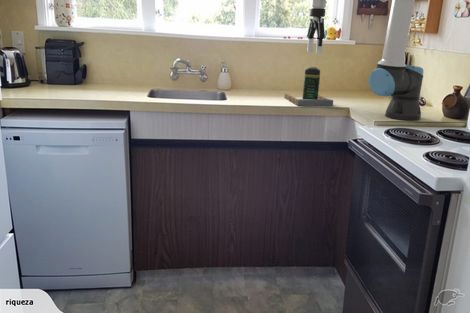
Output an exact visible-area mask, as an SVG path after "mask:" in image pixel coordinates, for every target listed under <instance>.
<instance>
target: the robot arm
mask: <svg viewBox="0 0 470 313" xmlns="http://www.w3.org/2000/svg"><path fill="white" fill-rule="evenodd" d="M309 2H310V3H309V4H310V5H309V6H310V7H309V8H310V9H309V17H310V19H309V20H310V21H309V24H308V25H309V26H308V30H307V35H306V37H307V50H306V52H307V53H308V52H309V53H310V52H311V53H313V51H314V40H315V37H314V36H315V33H316V36H317V37H316V45H315V48H316V49H315V54H322V52H323V40H324V39H325V38H326V33H325V18H324V17H325V16H326V9H325V8H326V6H327V3H328V1H327V0H310V1H309ZM415 2H416V0H391V5H390V9H389V10H390V11H389V17H388V22H387V27H386V33H385V34H386V35H385V38H384V44H383V51H382V55H381V59H380V60H379V61H377V63H376V68H375V69H373V71H371V73H370V74H369V77H368V84H369V88H370V89H371V91H372V93H373V94H375V95H376V96H379V97H385V98H386V97H390V96H391V100H390V102H389V104H388V105H387V108H386V110H385V114H384V116H385V117H386V118H389V117H390V119H395V120H401V121H418V120H421V119H422V112H421V105H420V96H421V92H422V91H421V90H422V86H423V85H422V84H423V79H424V69H423V67H420V66H415V65H409V64H408V65H407V64H406V63H405V62H404V58H405V54H406V47H407V43H408V38H409V32H410V29H411V28H410V27H411V23H412V17H413V11H414V6H415ZM311 17H312V18H311Z"/></svg>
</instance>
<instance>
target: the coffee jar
mask: <svg viewBox="0 0 470 313" xmlns="http://www.w3.org/2000/svg"><path fill="white" fill-rule="evenodd" d="M303 76H304V78H303V90H302V99H318V95H319V91H320V90H319V89H320V81H321V69H319V68H318V67H316V66H310V67H308V68H306V69H305V70H304V75H303Z"/></svg>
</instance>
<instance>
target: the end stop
mask: <svg viewBox="0 0 470 313" xmlns="http://www.w3.org/2000/svg"><path fill="white" fill-rule="evenodd" d="M296 100H297V103H296V105H295V106H297V107H334V99H329V98H327V99H303V98H296Z"/></svg>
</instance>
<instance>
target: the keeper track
mask: <svg viewBox="0 0 470 313" xmlns="http://www.w3.org/2000/svg"><path fill="white" fill-rule="evenodd" d="M283 97H284V99H286V100H287V101H289V102H290V103H292V104H294V105H295V106H297V105H296V103H297V100H296V99H297V98H296V97H294V96H292V95H291V94H289V93H287V92H285V93H284V94H283ZM318 99H328V98H326V97H324V96H322V95H320V94H318Z"/></svg>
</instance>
